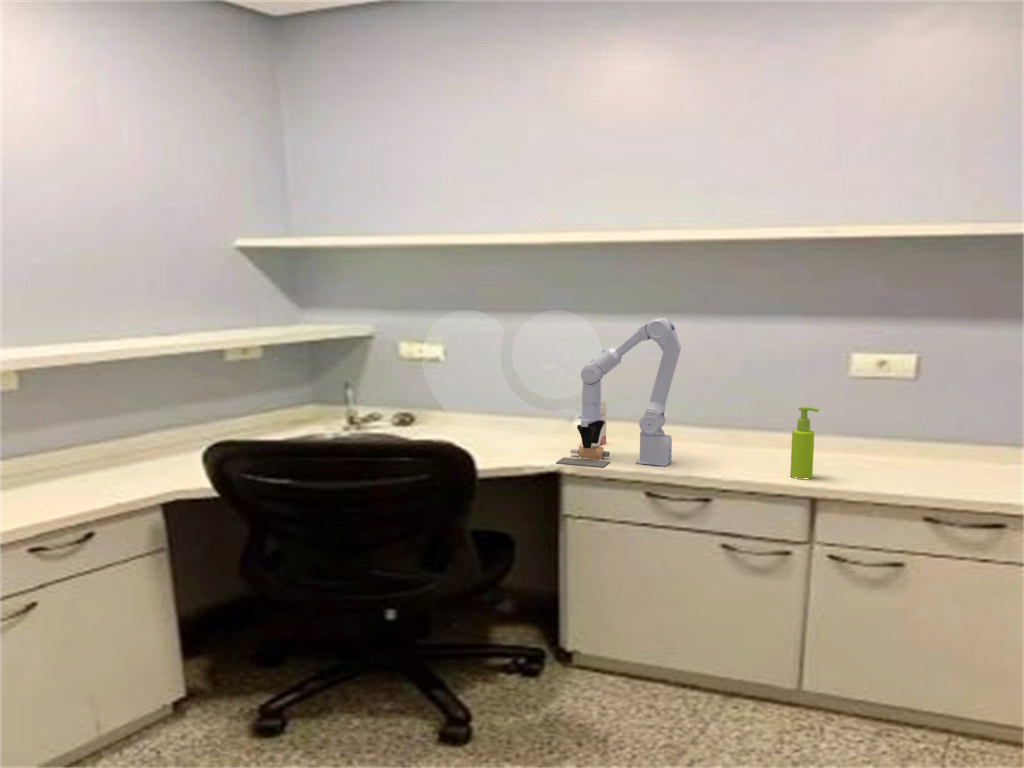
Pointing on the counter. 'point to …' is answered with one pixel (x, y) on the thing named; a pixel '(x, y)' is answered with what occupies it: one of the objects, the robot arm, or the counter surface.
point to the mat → (583, 462)
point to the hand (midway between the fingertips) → (590, 445)
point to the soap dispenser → (802, 446)
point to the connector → (591, 452)
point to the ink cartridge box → (603, 431)
